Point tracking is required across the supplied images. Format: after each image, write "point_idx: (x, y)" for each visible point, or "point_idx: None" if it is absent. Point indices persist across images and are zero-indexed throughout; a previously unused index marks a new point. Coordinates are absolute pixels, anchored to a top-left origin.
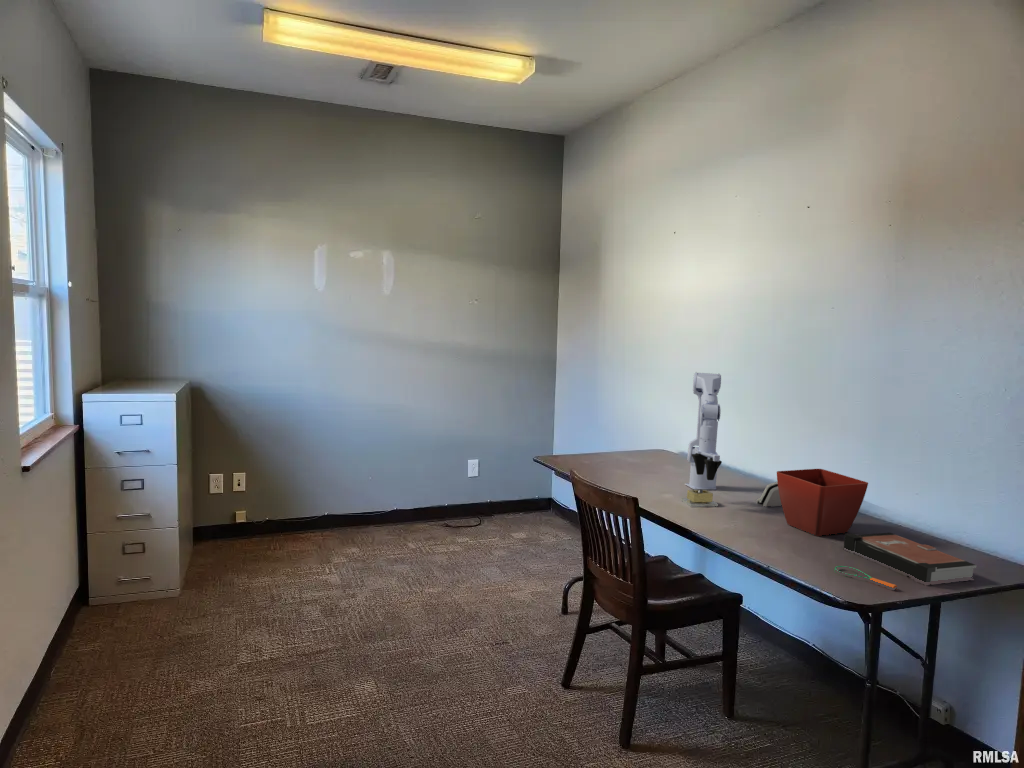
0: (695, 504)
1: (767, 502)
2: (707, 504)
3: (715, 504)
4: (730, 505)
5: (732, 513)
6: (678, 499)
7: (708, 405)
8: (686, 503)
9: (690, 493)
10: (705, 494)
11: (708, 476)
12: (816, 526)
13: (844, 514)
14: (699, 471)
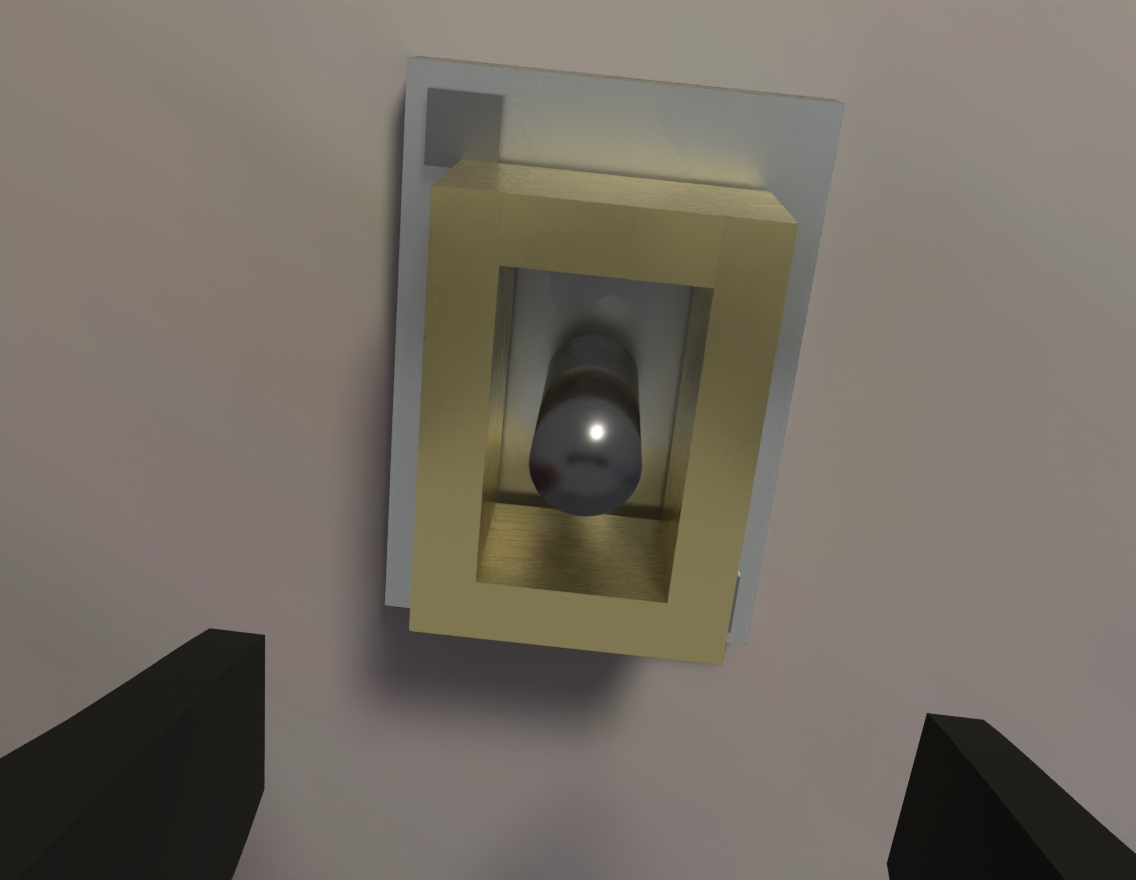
0: (407, 166)
1: None
2: (396, 415)
3: (390, 560)
4: (438, 807)
5: (6, 582)
6: (968, 107)
7: None
8: (608, 76)
9: (626, 198)
10: (418, 462)
11: (133, 691)
12: None
13: None
14: (946, 833)
